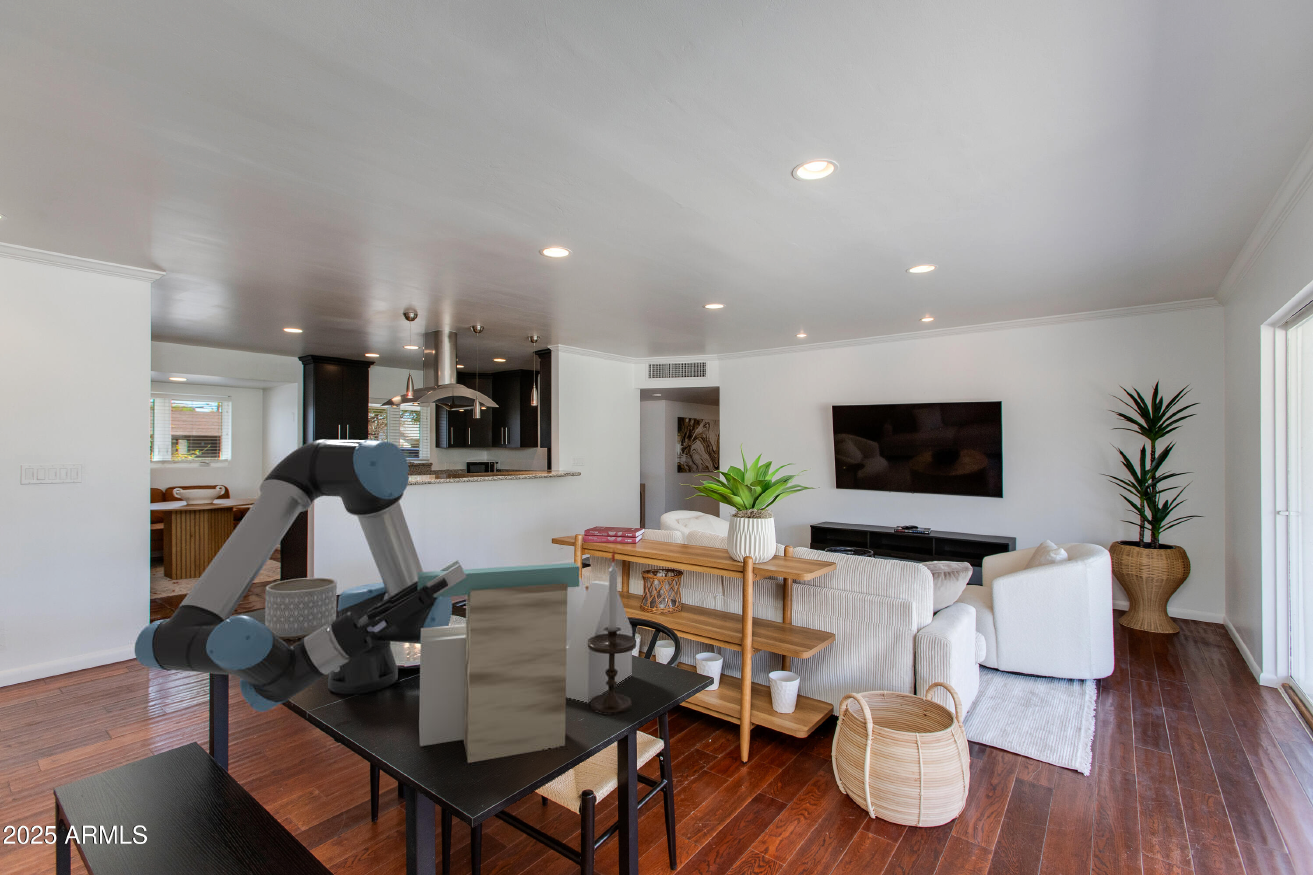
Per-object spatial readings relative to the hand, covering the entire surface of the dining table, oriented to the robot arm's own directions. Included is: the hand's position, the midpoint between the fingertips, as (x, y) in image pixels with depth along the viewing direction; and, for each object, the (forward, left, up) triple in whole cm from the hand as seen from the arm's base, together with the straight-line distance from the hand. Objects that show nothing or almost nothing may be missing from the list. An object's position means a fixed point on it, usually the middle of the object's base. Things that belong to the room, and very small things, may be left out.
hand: (461, 567), depth 117 cm
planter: (-92, -39, -35) cm, 106 cm away
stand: (0, +10, -35) cm, 36 cm away
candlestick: (-10, +33, -35) cm, 49 cm away
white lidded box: (-10, +2, -35) cm, 36 cm away
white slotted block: (-25, +31, -35) cm, 53 cm away
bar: (0, +7, -5) cm, 9 cm away
